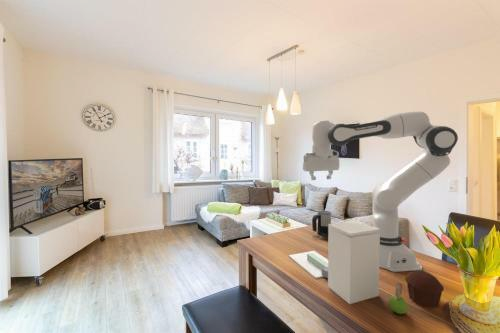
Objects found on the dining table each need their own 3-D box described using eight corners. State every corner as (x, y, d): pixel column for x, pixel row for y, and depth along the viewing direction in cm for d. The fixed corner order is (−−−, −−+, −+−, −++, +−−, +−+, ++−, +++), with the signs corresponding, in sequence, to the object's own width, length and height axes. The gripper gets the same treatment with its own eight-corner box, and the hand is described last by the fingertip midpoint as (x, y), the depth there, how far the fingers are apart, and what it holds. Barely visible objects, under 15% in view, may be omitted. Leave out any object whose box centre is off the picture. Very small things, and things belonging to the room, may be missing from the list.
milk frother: (322, 230, 166) (322, 209, 165) (343, 236, 154) (343, 214, 153) (309, 235, 157) (310, 213, 156) (331, 241, 145) (331, 218, 144)
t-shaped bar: (302, 260, 119) (302, 254, 118) (316, 257, 121) (316, 252, 121) (326, 278, 102) (326, 271, 102) (340, 274, 104) (340, 268, 104)
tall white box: (328, 286, 96) (328, 224, 95) (355, 280, 101) (355, 220, 100) (349, 304, 85) (350, 233, 83) (378, 295, 90) (380, 228, 88)
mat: (288, 256, 125) (288, 255, 125) (314, 251, 130) (314, 250, 130) (315, 278, 102) (315, 277, 102) (345, 272, 108) (345, 270, 108)
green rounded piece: (388, 315, 79) (388, 281, 78) (389, 305, 84) (390, 272, 83) (407, 321, 76) (408, 285, 75) (407, 310, 81) (408, 277, 80)
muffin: (401, 289, 94) (401, 264, 93) (434, 293, 91) (434, 268, 90) (411, 307, 83) (412, 280, 82) (449, 313, 79) (450, 285, 79)
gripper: (307, 152, 114) (307, 181, 114) (341, 152, 121) (341, 179, 121) (300, 153, 120) (300, 180, 120) (333, 152, 127) (333, 178, 127)
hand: (321, 179), depth 121 cm, fingers open, 8 cm apart
